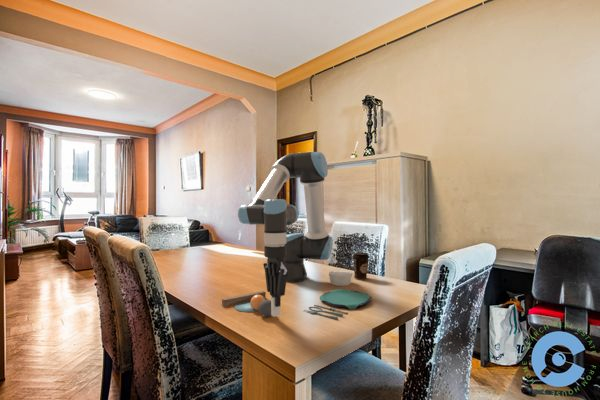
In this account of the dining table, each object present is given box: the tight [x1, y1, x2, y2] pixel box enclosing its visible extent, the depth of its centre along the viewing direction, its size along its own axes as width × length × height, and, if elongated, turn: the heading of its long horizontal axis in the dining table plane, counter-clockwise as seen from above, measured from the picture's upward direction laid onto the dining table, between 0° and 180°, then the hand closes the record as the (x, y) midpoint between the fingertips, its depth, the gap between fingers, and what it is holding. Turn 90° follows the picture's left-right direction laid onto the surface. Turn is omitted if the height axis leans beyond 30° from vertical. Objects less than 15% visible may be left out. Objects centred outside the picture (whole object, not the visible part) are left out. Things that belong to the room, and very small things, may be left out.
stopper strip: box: [221, 290, 267, 308], centre depth 123 cm, size 2×18×2 cm, turn 125°
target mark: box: [234, 301, 259, 313], centre depth 118 cm, size 13×13×1 cm
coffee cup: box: [352, 252, 370, 281], centre depth 159 cm, size 9×8×13 cm
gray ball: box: [258, 299, 271, 318], centre depth 108 cm, size 6×6×6 cm
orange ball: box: [250, 295, 266, 310], centre depth 114 cm, size 6×6×6 cm
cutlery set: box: [303, 288, 372, 321], centre depth 120 cm, size 20×30×2 cm, turn 142°
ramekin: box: [328, 270, 353, 287], centre depth 149 cm, size 11×11×5 cm
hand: (275, 315), depth 103 cm, fingers closed
